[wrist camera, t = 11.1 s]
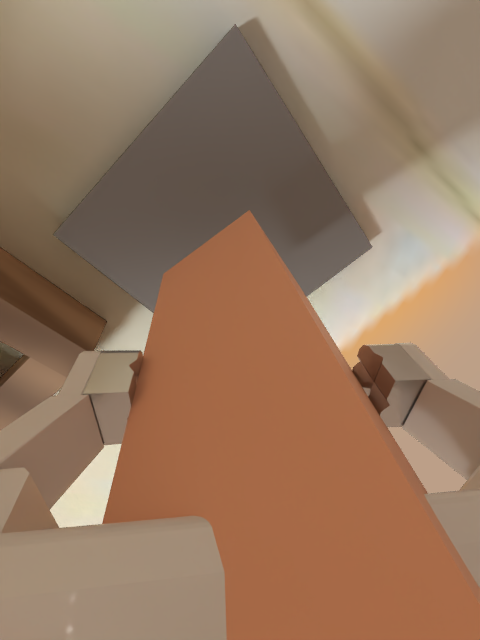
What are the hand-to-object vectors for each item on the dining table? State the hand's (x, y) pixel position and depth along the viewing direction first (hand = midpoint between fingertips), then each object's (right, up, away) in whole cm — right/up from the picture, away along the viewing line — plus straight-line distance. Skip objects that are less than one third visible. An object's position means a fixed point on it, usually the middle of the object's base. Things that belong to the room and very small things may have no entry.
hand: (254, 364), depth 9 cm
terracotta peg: (-1, +3, +5) cm, 6 cm away
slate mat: (-1, +6, +9) cm, 11 cm away
